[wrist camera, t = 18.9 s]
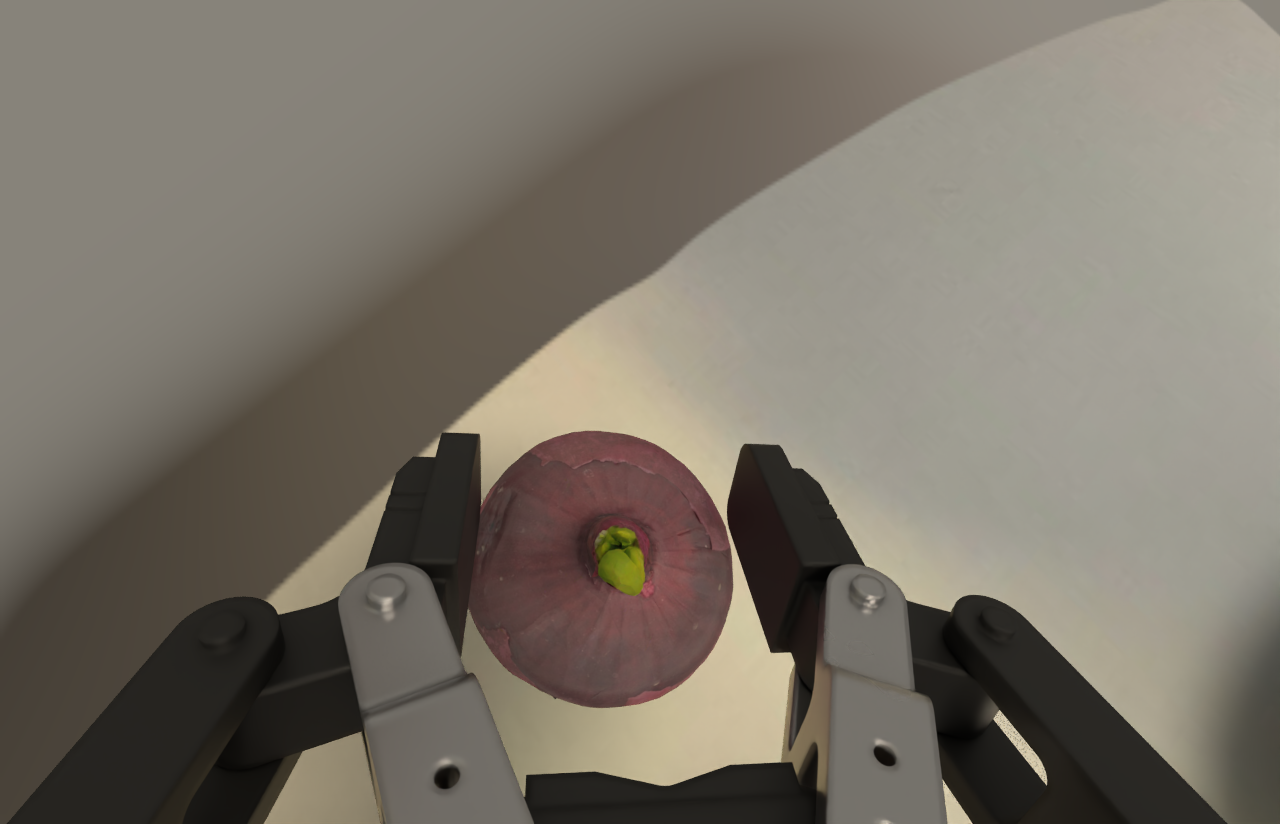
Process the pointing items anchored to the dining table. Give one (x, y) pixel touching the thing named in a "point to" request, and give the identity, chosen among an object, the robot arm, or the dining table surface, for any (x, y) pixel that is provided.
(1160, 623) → the dining table surface
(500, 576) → the vegetable
